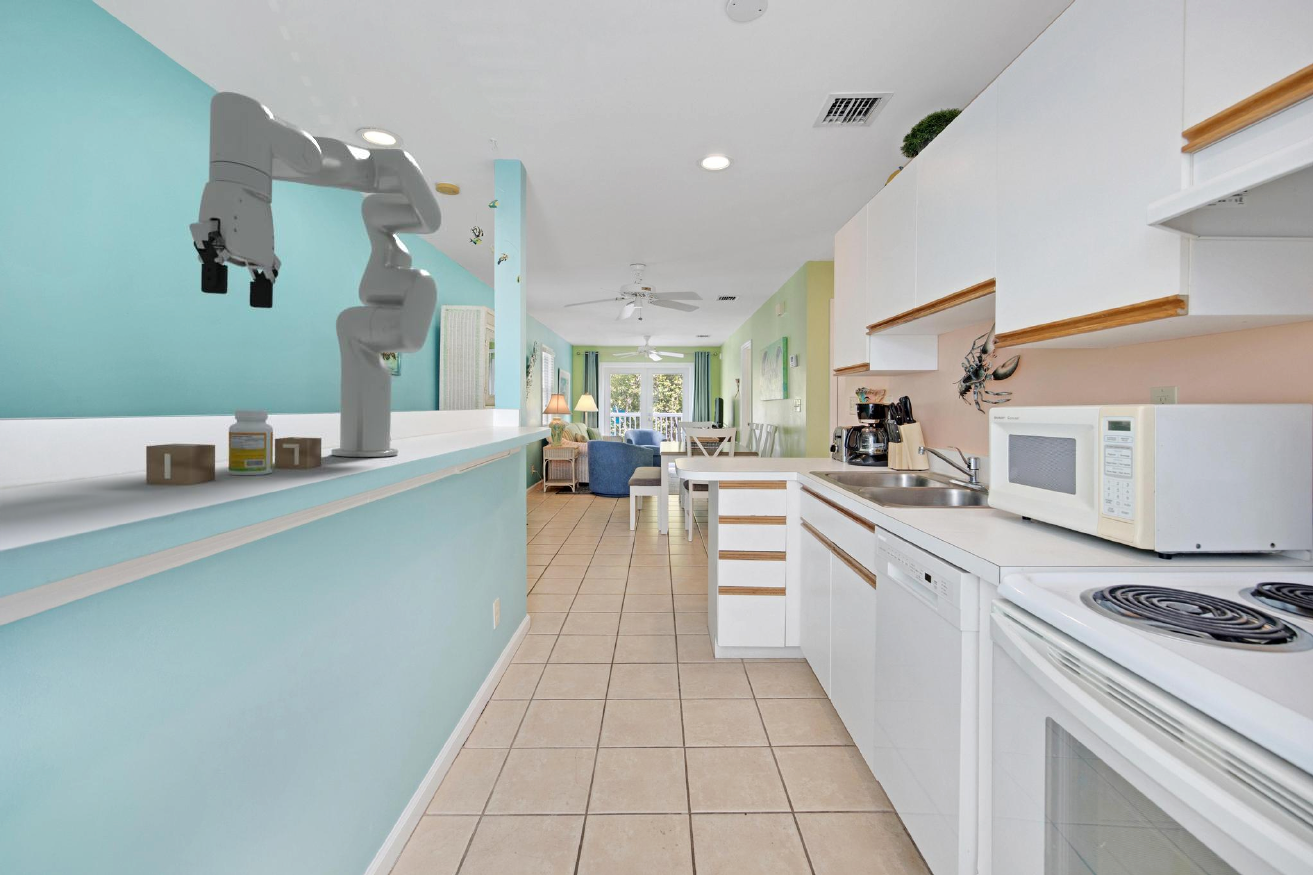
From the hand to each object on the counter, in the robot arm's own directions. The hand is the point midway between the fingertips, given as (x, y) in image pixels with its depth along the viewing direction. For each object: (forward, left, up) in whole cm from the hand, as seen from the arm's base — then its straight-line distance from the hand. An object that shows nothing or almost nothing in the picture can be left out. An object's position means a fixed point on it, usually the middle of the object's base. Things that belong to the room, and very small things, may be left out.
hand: (239, 300), depth 82 cm
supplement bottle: (0, +2, -26) cm, 26 cm away
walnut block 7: (-10, +4, -26) cm, 28 cm away
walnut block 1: (+10, -1, -26) cm, 28 cm away
